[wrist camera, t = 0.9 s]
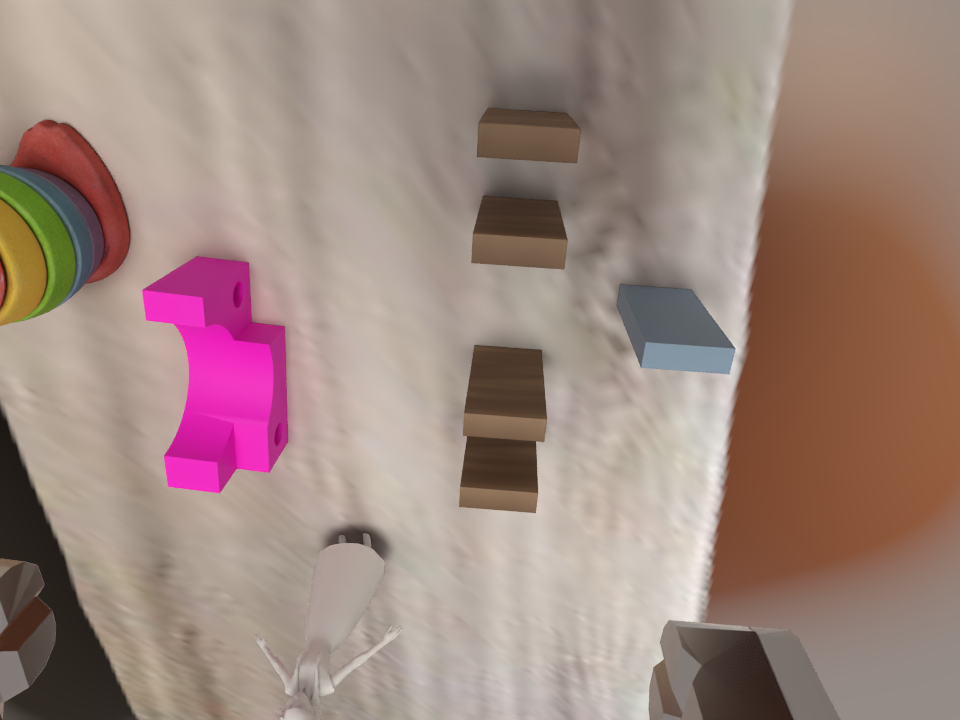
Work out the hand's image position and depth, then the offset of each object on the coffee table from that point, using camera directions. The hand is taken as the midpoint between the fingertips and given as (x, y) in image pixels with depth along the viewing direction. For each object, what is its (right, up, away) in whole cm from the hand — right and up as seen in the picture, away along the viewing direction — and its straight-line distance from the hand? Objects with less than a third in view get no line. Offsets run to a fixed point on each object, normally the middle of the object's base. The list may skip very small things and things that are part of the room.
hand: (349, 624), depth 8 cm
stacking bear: (-28, +14, +36) cm, 48 cm away
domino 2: (+4, +14, +34) cm, 37 cm away
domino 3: (+4, +4, +39) cm, 39 cm away
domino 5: (+14, +8, +36) cm, 40 cm away
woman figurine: (-9, -13, +48) cm, 51 cm away
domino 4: (+3, -1, +41) cm, 42 cm away
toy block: (-16, +4, +41) cm, 44 cm away
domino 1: (+5, +19, +32) cm, 37 cm away
